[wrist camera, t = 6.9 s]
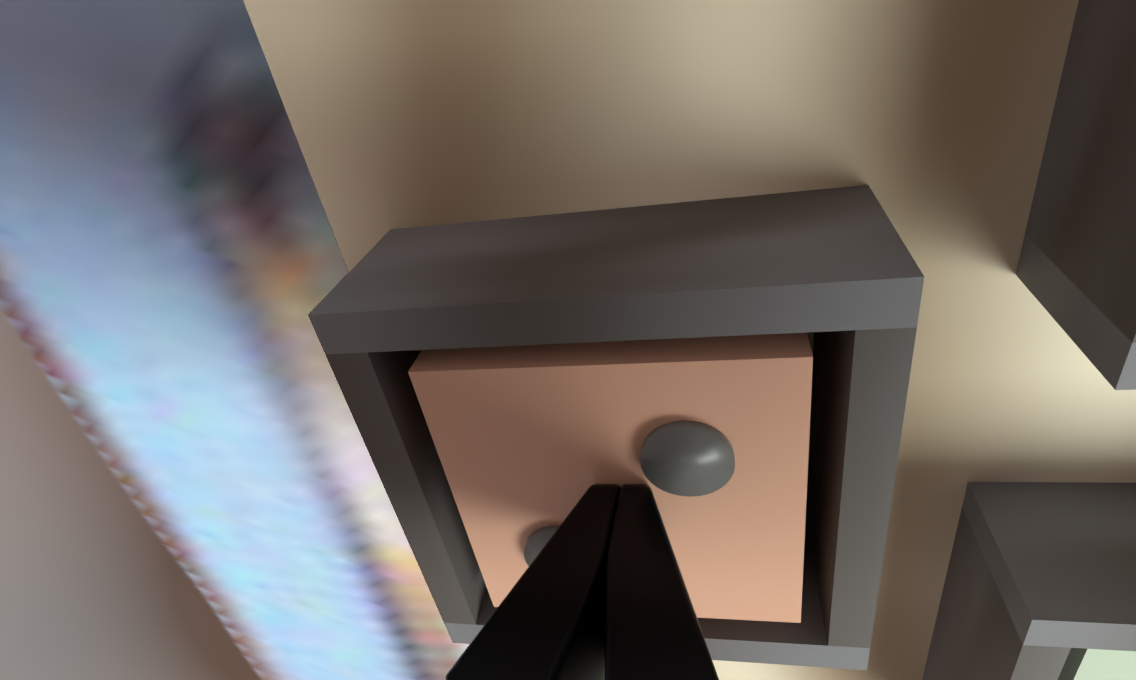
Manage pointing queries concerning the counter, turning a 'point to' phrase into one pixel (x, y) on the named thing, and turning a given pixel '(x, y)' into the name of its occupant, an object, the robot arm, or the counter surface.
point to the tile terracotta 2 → (635, 453)
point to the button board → (769, 277)
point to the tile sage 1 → (1099, 665)
